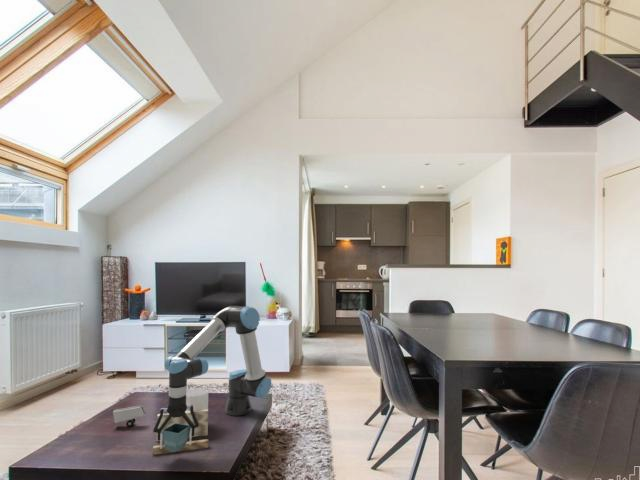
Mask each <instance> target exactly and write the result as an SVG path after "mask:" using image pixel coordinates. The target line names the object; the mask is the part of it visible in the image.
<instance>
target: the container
mask: <svg viewBox="0 0 640 480" xmlns="http://www.w3.org/2000/svg"><path fill="white" fill-rule="evenodd" d="M185 395H186V405H187V406H191V405H193V410H194V411H195V410H204V409H208V410H209V389H207V388H204V387H191V388H187V390H186V394H185ZM186 411H189V410H188V409H187V410H186Z"/></svg>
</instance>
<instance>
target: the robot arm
mask: <svg viewBox="0 0 640 480" xmlns="http://www.w3.org/2000/svg"><path fill="white" fill-rule="evenodd" d="M260 318H261V317H260V314H259V311H258V310H257V309H256V308H255V307H252V306H245V305H244V306H240V305H229V306H226V307H224V308H223V309H221V310H219V311H218V312H217V313H216V314H214V316H212V317H211V319H210V322H209V323H208V324H207V325H206V326H204V327H203V329H202V330H200V331H199V332H198V333H197V334H196V335H195V336H194V337H193V338H192V339H191V340H190V341H189V342H188V343H187V344H186V345H185V346H184V347H183V348H182V349H181V350H180V351H178V353H177V354H176V355H170V356H168V357H167V358H165V361H164V368H165V370H166V371H167V372H168V402H167V403H168V405H167V407H166V408H165V407H161V408H160V412H159V414H160V416H159V418H158V420H157V419H156V423H155V425H154V428H153V431H152V432H153V433H156V432H157V433H158V441H157V442H160V443H159V445H160V449H162V445H163V443H164V442H163V433H162V430H163V428H164V427H165V425H166V424H167V423H168V421H169V420H170V419H171V417H173V418H175V417H181V416H182V417H183V418H184V419H185V421H186V422H187V423H188V425H189V426H190V427H191V428H190V437H189V441H190V444H189V445H191V441H192V438H193V437H192V436H194V429H195V428H196V427H199V423H198V420H197V418H196V415H195V413H194V410H193V405H191V406H187V405H186V395H185V394H186V390H187V389H188V388H187V387H188V386H187V385H188V383H187V382H188V380H189V379H193V378H196V377H199V376H202V375H205V374H206V373H208V370H209V361H208V360H207V359H205V358H204V357H201V358H197V359H195V358H196V357H197V356H198V355H199V354H200V353H201V352H202V351H203V350H204V349H205V348H206V347H207V346H208V344H210V342H211V341H213V339H215V337H216V336H218V334H219V333H220V332H223V331H225V330H226V329H227V328H230V327H232V328H235V333H236V334H237V335H239V339H240V346H241V349H242V354H243V358H244V359H243V361H244V364H245V368H244V369H237V370H233V371H232V372H230V373H229V375H228V376H229V377H228V398H227V402H226V405H225V410H224V411H225V414H227V415H228V416H233V417H234V416H238V417H239V416H244V415H248V414H250V413H251V412H252V403H251V400H250V397H254V398H256V399H263V398H266V397H267V396H268V394H269V393H270V391H271V388H272V379H271V377H269V376H267V375H266V370H264V369H263V367H262V362H261V358H260V352H259V346H258V341H257V340H258V339H257V336H256V331H257V329H258V327H259V324H260V320H261V319H260ZM187 409H188V410H189V411H190V412H191V415H192V418H193V420H194V423H195V424H193V423H192V421H191V420H190V419H189V417H188V416H187V415H186V413H185V411H186V410H187ZM166 412H167V413H169V415H168V417H167V418H166V419H165V421H164V422H163V424H162V425H161V426H160V428H158V426H159V424H160V421H161V419H162V416H163V414H166ZM159 440H160V441H159Z"/></svg>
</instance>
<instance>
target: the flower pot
mask: <svg viewBox="0 0 640 480" xmlns="http://www.w3.org/2000/svg"><path fill="white" fill-rule="evenodd" d="M162 433H163V442H162V443H163V445H165V447H166V448H167V449H168V450H171V451H176V452H177V451H178V450H180V449H181V448H183V447H184V446H185V444H186V443H187V442H189V439H190V437H189V434H190V426H189V425H184V424H179V423H175V424H173V425H171V426H169V427H167V428H166V429H164V430H162ZM176 452H175V453H176ZM178 452H179V451H178Z"/></svg>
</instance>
